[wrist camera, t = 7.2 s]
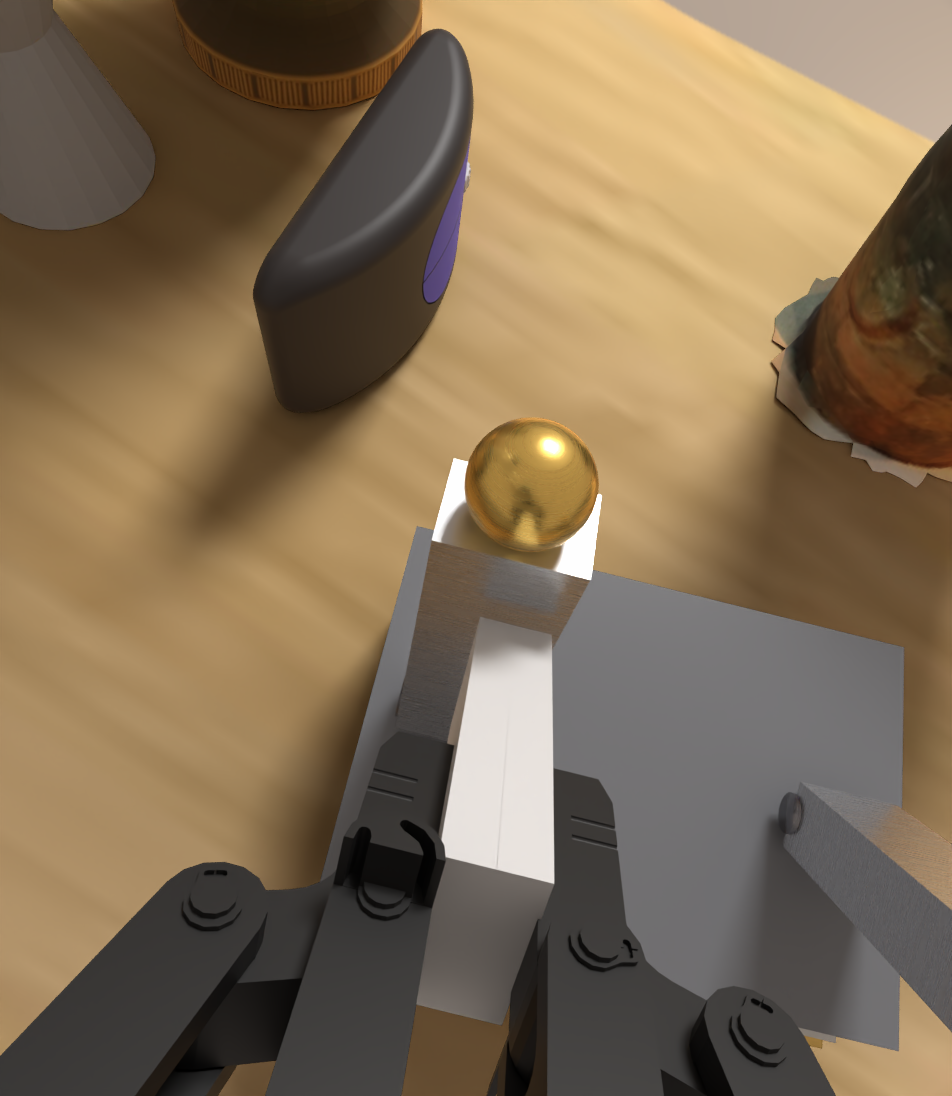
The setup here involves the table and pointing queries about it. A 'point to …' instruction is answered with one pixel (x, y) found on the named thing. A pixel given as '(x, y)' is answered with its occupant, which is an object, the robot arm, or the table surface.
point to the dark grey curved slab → (372, 236)
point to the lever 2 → (880, 880)
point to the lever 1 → (500, 557)
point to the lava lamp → (62, 128)
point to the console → (708, 782)
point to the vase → (300, 47)
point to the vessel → (883, 336)
